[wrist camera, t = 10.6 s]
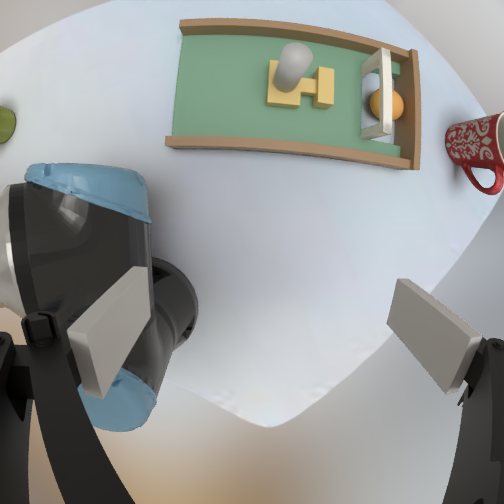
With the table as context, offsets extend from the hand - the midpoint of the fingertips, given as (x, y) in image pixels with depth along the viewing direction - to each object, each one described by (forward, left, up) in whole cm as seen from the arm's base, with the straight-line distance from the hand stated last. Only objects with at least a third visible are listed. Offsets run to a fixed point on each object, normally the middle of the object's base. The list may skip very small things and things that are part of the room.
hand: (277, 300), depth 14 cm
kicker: (+12, +14, -24) cm, 31 cm away
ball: (+24, +8, -24) cm, 35 cm away
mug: (+36, -3, -27) cm, 45 cm away
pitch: (+13, +14, -27) cm, 33 cm away
